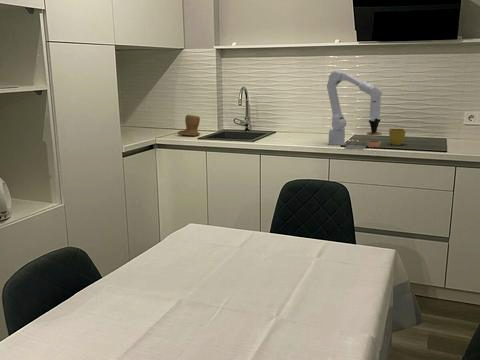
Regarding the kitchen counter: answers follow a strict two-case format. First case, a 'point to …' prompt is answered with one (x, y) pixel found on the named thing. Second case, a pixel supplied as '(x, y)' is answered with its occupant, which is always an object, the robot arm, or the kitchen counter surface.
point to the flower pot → (396, 136)
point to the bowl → (373, 143)
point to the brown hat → (191, 126)
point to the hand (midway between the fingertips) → (374, 131)
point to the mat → (355, 147)
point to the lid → (374, 133)
